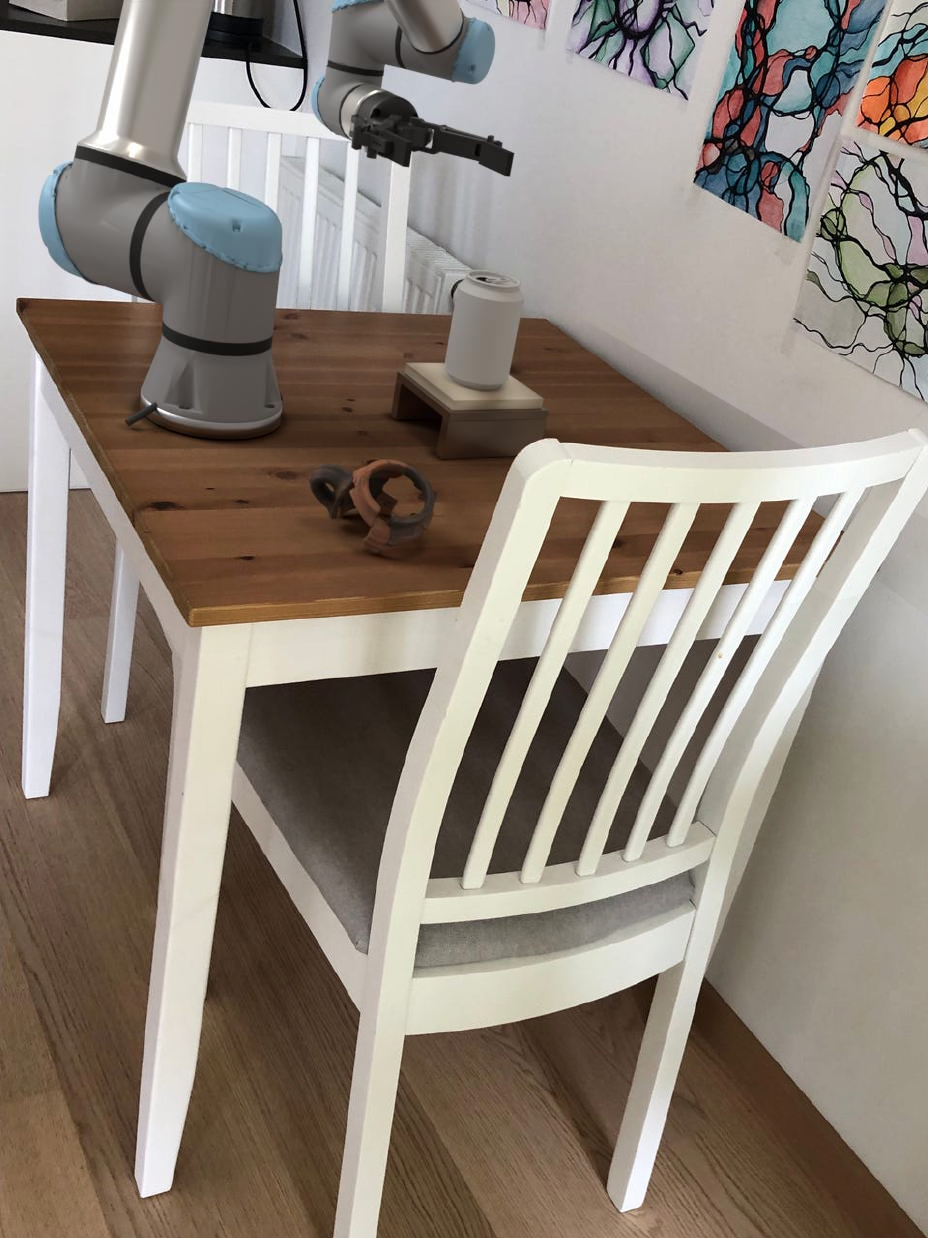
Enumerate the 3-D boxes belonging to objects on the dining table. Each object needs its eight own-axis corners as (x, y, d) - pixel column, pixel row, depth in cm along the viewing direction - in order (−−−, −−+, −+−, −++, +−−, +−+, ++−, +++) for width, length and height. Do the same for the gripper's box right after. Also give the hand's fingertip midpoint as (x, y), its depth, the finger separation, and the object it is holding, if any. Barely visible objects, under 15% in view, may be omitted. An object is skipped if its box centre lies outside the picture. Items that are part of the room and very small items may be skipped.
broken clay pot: (418, 517, 123) (450, 469, 117) (401, 592, 118) (434, 546, 111) (304, 473, 120) (331, 421, 114) (282, 548, 115) (309, 497, 108)
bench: (441, 459, 137) (451, 402, 134) (390, 415, 146) (398, 360, 143) (539, 455, 143) (551, 400, 140) (484, 413, 153) (494, 360, 149)
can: (448, 364, 145) (466, 261, 139) (510, 378, 145) (531, 276, 139) (436, 382, 138) (454, 275, 133) (501, 397, 138) (522, 290, 132)
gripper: (460, 160, 166) (542, 200, 151) (287, 143, 154) (358, 184, 139) (470, 101, 163) (555, 135, 147) (294, 79, 150) (367, 114, 135)
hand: (460, 159), depth 143 cm, fingers open, 13 cm apart
